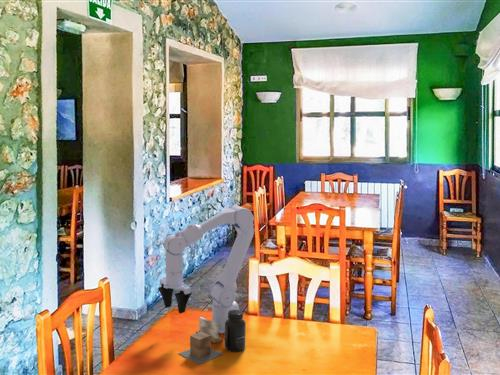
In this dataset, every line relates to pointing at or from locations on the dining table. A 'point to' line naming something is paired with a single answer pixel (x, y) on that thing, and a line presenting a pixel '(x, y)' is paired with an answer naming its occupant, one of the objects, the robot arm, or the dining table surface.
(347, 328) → the dining table surface
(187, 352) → the coaster
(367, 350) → the dining table surface
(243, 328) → the supplement bottle
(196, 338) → the walnut block
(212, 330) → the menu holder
